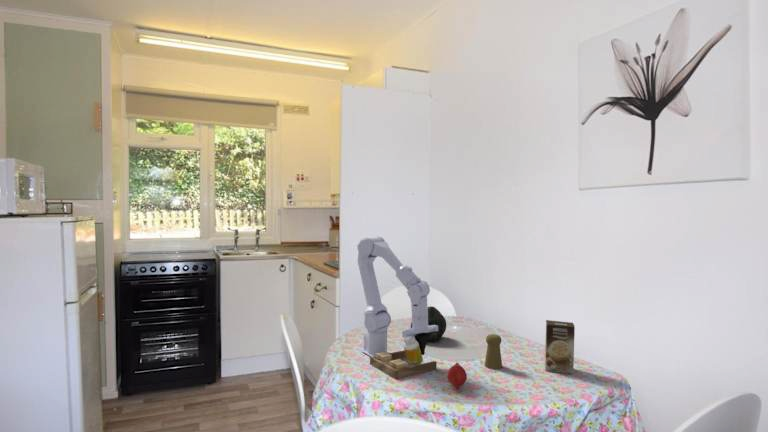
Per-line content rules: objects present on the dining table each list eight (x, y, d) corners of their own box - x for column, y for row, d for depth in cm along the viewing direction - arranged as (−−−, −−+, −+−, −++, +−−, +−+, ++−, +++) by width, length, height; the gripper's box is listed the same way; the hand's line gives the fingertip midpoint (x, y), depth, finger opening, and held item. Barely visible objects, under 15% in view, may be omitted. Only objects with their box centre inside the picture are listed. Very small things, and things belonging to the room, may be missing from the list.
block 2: (389, 373, 148) (389, 361, 148) (399, 370, 150) (399, 359, 150) (397, 376, 144) (397, 364, 144) (406, 374, 147) (406, 362, 147)
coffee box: (544, 371, 151) (545, 324, 150) (544, 365, 157) (545, 319, 156) (574, 374, 148) (574, 326, 147) (572, 368, 154) (573, 322, 153)
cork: (502, 370, 151) (503, 337, 151) (484, 368, 152) (485, 336, 152) (501, 364, 157) (502, 333, 157) (484, 362, 158) (484, 332, 158)
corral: (369, 364, 156) (370, 357, 156) (409, 356, 165) (409, 349, 165) (395, 378, 142) (395, 371, 142) (436, 369, 151) (436, 361, 151)
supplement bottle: (420, 366, 152) (413, 341, 150) (406, 366, 155) (399, 342, 153) (425, 358, 157) (418, 333, 155) (411, 358, 159) (404, 334, 158)
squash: (412, 319, 198) (412, 299, 188) (446, 322, 196) (447, 301, 186) (409, 347, 188) (409, 327, 178) (445, 351, 186) (446, 330, 176)
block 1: (375, 364, 155) (375, 353, 155) (385, 362, 158) (385, 351, 157) (381, 368, 152) (382, 356, 152) (391, 366, 154) (391, 354, 154)
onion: (445, 384, 138) (445, 359, 138) (463, 384, 138) (463, 358, 138) (449, 392, 132) (450, 365, 132) (468, 391, 133) (469, 365, 132)
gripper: (409, 321, 149) (411, 361, 149) (442, 314, 157) (444, 353, 157) (398, 317, 155) (399, 356, 155) (430, 311, 163) (432, 348, 163)
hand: (421, 354), depth 156 cm, fingers closed, pressing on supplement bottle
